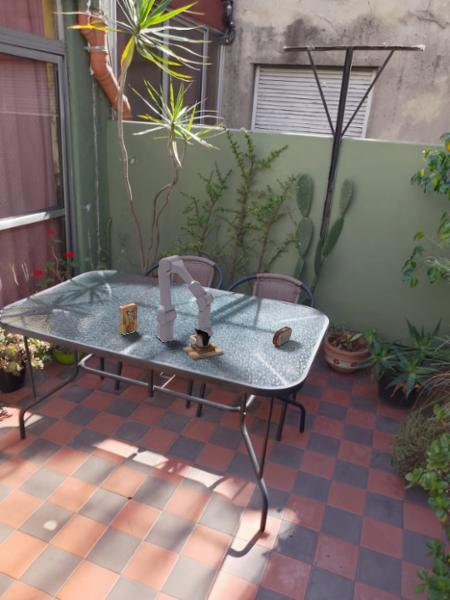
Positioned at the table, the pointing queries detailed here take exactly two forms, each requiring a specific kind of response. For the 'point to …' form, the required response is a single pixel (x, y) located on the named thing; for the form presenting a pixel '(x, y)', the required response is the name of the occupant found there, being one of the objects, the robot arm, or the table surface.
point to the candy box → (128, 318)
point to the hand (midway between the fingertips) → (203, 343)
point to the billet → (200, 342)
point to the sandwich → (282, 336)
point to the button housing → (192, 339)
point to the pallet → (202, 351)
